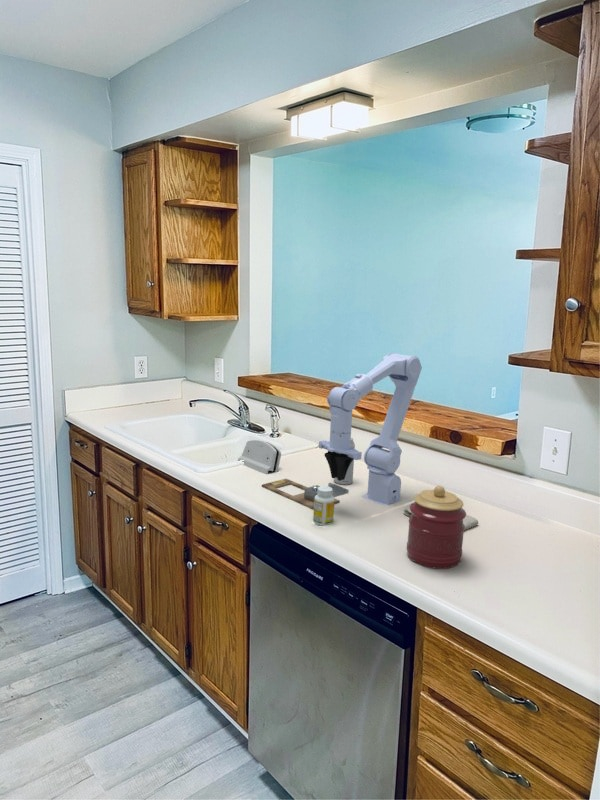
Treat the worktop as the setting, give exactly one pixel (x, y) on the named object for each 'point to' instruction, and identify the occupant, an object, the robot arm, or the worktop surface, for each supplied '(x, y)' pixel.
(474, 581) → the worktop surface
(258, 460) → the hinge
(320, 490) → the supplement bottle
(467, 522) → the washcloth
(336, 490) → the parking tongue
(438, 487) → the canister
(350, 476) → the energy drink can
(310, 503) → the board
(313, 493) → the metal block with knob
